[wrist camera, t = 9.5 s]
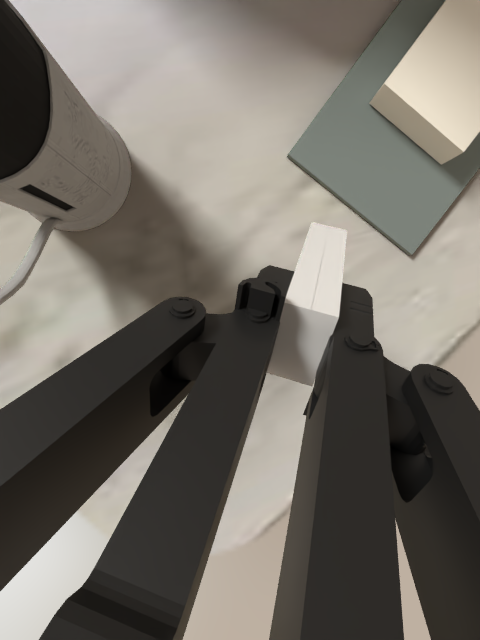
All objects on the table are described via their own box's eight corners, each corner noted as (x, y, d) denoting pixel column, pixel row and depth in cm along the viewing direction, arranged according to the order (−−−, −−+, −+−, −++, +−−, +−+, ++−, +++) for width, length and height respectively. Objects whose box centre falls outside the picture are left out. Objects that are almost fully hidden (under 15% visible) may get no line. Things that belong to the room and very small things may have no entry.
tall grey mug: (132, 111, 25) (-10, -158, 10) (128, 307, 26) (-3, 336, 11) (8, 102, 24) (-341, -194, 9) (10, 301, 26) (-291, 322, 11)
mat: (408, 255, 26) (412, 254, 26) (287, 156, 25) (288, 154, 25) (576, 38, 25) (583, 33, 25) (457, -75, 24) (462, -83, 24)
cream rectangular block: (463, 152, 23) (560, 26, 22) (384, 83, 22) (482, -48, 22) (439, 165, 25) (526, 52, 25) (368, 104, 25) (455, -13, 24)
